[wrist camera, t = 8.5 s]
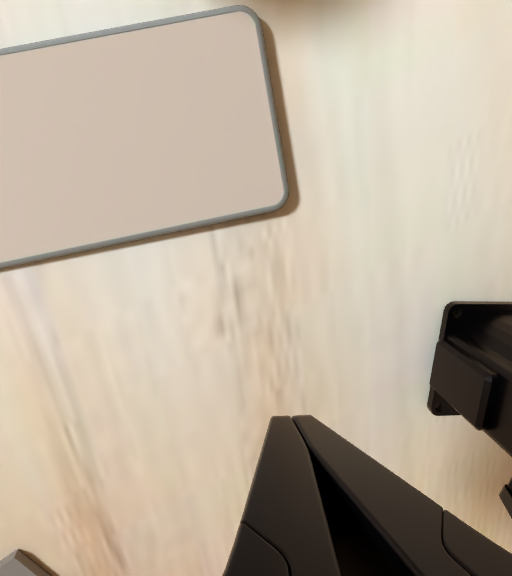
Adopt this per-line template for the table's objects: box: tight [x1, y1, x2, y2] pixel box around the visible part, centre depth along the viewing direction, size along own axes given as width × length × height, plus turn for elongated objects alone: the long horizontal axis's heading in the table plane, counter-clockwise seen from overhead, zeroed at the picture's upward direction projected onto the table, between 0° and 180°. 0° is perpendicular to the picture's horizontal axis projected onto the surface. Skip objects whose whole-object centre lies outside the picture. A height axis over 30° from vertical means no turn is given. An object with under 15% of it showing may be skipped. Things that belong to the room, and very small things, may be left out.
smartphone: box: [0, 5, 289, 269], centre depth 18 cm, size 8×1×15 cm
